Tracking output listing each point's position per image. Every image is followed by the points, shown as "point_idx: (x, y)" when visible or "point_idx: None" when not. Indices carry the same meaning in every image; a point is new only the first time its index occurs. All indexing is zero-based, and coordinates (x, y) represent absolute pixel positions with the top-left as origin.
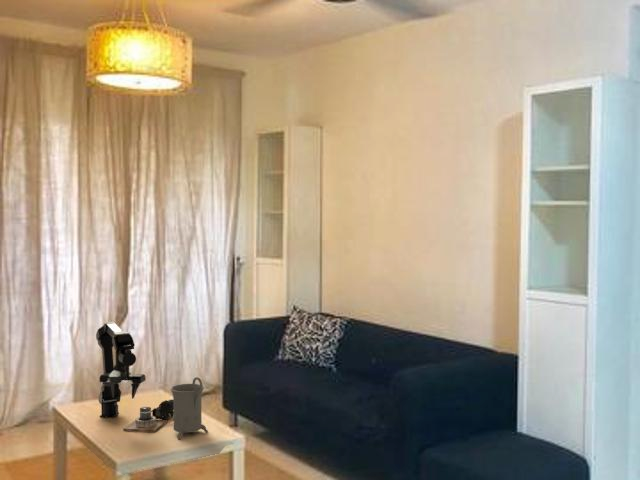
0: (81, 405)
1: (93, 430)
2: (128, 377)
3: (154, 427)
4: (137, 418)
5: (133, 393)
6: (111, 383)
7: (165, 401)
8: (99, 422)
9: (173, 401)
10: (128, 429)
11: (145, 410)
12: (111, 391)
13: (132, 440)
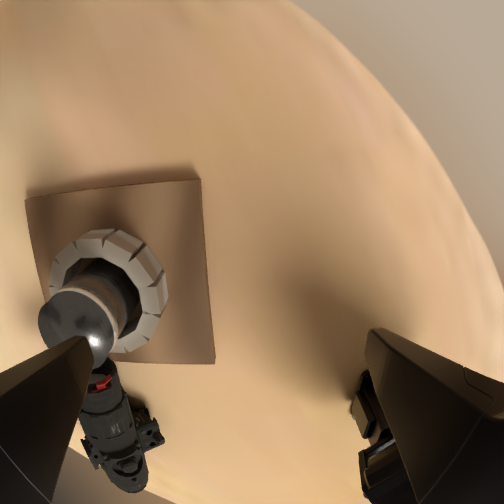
0: None
1: (387, 162)
2: None
3: (44, 239)
4: (147, 294)
5: (24, 361)
6: (480, 488)
7: (124, 474)
8: (404, 298)
9: (109, 477)
10: (165, 182)
11: (51, 299)
12: (420, 369)
13: (80, 49)
